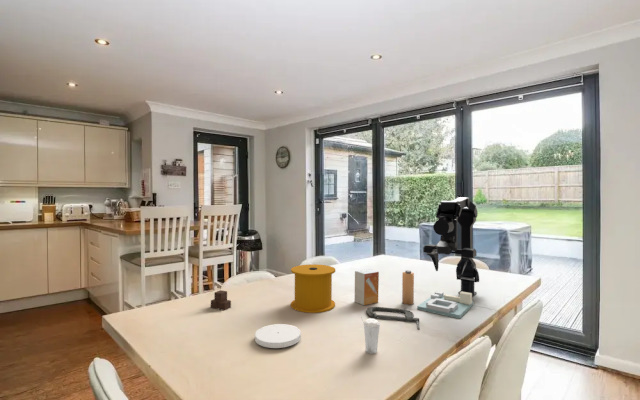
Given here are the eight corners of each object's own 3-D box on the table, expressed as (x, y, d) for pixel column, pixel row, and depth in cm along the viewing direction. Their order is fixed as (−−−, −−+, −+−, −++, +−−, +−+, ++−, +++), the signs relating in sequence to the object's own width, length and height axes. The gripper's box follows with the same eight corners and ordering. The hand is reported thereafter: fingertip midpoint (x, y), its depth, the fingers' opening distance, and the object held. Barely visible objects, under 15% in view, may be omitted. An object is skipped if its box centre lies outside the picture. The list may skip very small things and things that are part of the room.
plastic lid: (305, 348, 98) (305, 339, 98) (257, 354, 94) (257, 345, 94) (295, 329, 111) (295, 322, 111) (252, 334, 107) (252, 326, 107)
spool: (344, 305, 136) (344, 268, 136) (313, 316, 123) (313, 276, 122) (312, 295, 148) (312, 262, 148) (281, 305, 135) (281, 268, 135)
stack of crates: (249, 305, 137) (249, 288, 136) (224, 317, 123) (224, 298, 123) (221, 300, 143) (221, 284, 143) (194, 311, 129) (194, 293, 129)
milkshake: (359, 348, 97) (359, 314, 97) (377, 347, 98) (377, 313, 98) (362, 355, 93) (362, 319, 93) (381, 354, 93) (381, 319, 93)
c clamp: (421, 314, 127) (421, 307, 127) (419, 331, 111) (419, 323, 111) (369, 308, 134) (369, 301, 134) (360, 323, 118) (360, 315, 118)
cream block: (445, 297, 142) (445, 288, 142) (471, 302, 135) (472, 293, 135) (443, 299, 139) (443, 290, 139) (470, 304, 133) (470, 294, 133)
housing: (434, 297, 147) (434, 290, 147) (473, 304, 137) (473, 297, 137) (417, 309, 131) (417, 301, 131) (459, 318, 121) (459, 310, 121)
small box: (364, 306, 135) (364, 273, 134) (354, 301, 140) (354, 270, 140) (378, 302, 139) (379, 271, 139) (368, 298, 144) (368, 268, 144)
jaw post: (404, 300, 142) (405, 269, 142) (415, 302, 139) (415, 270, 139) (400, 303, 138) (400, 271, 138) (410, 305, 136) (411, 272, 135)
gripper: (418, 232, 129) (417, 272, 130) (469, 236, 118) (468, 280, 118) (428, 230, 138) (428, 268, 138) (477, 234, 127) (476, 275, 127)
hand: (448, 272), depth 130 cm, fingers open, 9 cm apart
